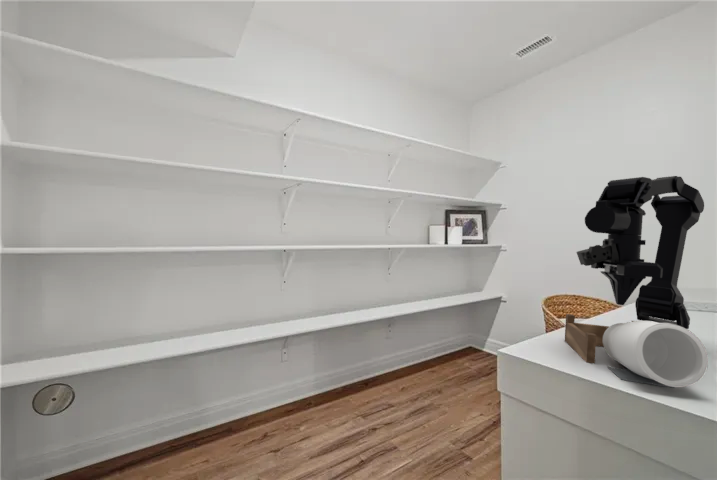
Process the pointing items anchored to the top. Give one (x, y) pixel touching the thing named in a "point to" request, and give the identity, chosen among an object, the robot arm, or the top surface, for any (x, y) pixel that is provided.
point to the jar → (657, 351)
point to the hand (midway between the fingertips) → (619, 304)
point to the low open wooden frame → (584, 337)
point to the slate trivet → (634, 376)
